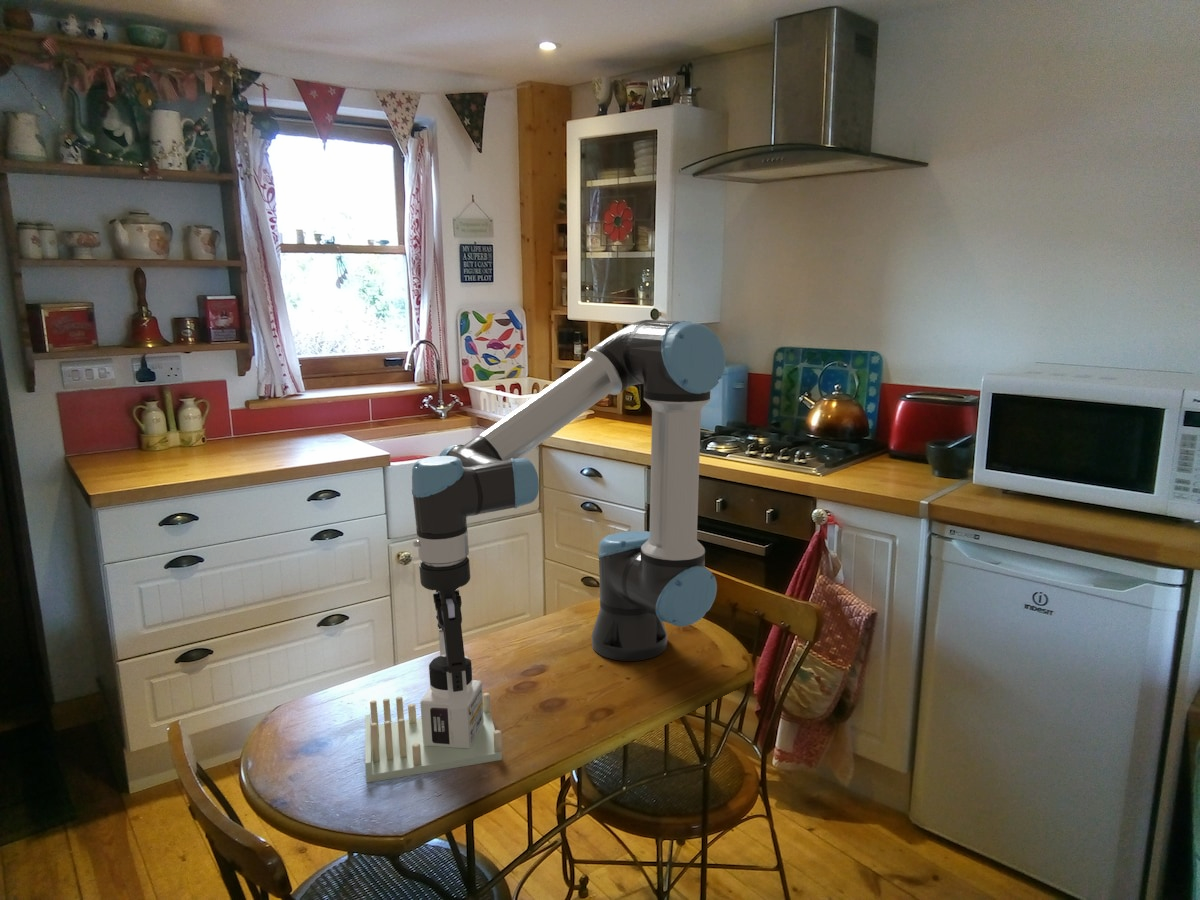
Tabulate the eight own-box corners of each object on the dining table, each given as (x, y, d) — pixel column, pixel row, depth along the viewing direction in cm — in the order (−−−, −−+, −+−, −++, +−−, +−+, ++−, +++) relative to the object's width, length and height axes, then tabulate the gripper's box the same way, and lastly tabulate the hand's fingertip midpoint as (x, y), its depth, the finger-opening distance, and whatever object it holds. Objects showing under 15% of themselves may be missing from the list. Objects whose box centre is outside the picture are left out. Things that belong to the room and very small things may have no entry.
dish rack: (490, 714, 139) (488, 675, 137) (503, 759, 126) (501, 716, 124) (366, 733, 134) (363, 692, 132) (366, 782, 120) (363, 738, 119)
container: (470, 749, 126) (466, 672, 124) (422, 746, 127) (417, 669, 125) (484, 723, 134) (480, 649, 131) (439, 720, 135) (434, 647, 132)
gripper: (414, 536, 135) (424, 655, 140) (424, 591, 111) (436, 731, 116) (459, 531, 137) (468, 648, 141) (479, 584, 113) (489, 722, 118)
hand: (454, 686), depth 129 cm, fingers open, 13 cm apart
